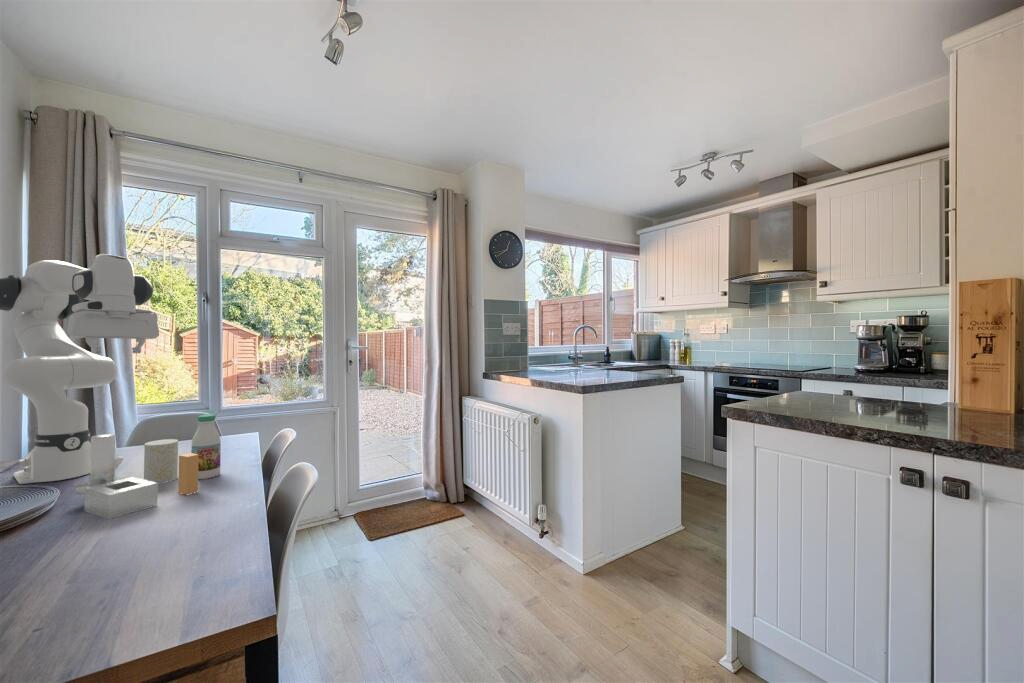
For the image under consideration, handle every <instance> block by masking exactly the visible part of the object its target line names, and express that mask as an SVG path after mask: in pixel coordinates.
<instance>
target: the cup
mask: <svg viewBox="0 0 1024 683" xmlns="http://www.w3.org/2000/svg"><path fill="white" fill-rule="evenodd" d="M143 448H144V453H143V454H144V455H143V456H144V457H143V458H144V460H143V467H144V468H143V479H144V480H148V481H152V482H156V483H160V484H164V483H163V482H165V483H167V482H166V481H170V480H173V479H175V480H176V478H177V479H178V477H179V439H175V438H167V439H158V440H151V441H148V442H147V441H146V442H145V443H144V447H143ZM173 481H174V480H173ZM170 482H171V481H170Z"/></svg>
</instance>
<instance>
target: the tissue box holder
mask: <svg viewBox="0 0 1024 683" xmlns="http://www.w3.org/2000/svg"><path fill="white" fill-rule="evenodd" d="M90 443H91V449H90V473H89V481H87V482H83V483H80V484H79V485H77V486H75V494H76V495H84V513H85V512H86V513H89V514H91V515H94V516H97V515H98V517H100V516H101V517H100V518H103V517H104V518H103V519H106V518H107V519H106V520H111V519H112V518H113V519H115V517H116V518H120V517H122V515H123V516H126V515H129V514H133V513H136V512H139V511H138V510H140V511H142V509H143V510H146V509H149V508H148V507H150V508H152V507H151V506H153V507H156V506H158V493H159V492H158V486H159V484H158V483H156V482H152V481H148V480H144V478H141V477H140V478H139V477H137V476H130V477H120V476H119V477H117V476H116V474H115V473H116V471H115V459H116V434H114V433H104V434H97V435H93V436H90ZM115 476H116V477H115ZM155 505H156V506H155ZM145 508H146V509H145ZM132 512H133V513H132ZM125 514H126V515H125ZM113 519H112V520H113Z"/></svg>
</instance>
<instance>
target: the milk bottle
mask: <svg viewBox="0 0 1024 683" xmlns="http://www.w3.org/2000/svg"><path fill="white" fill-rule="evenodd" d="M215 422H216V414H202V415H201V414H200V415H198V416H197V423H198V426H197V429H196V431H195V434H194V435H193V437H192V441H191V452H190V453H193V454H199V464H198V479H202V480H208V478H209V479H212V477H213V478H215V476H216V477H218V476H219V475H220V474H221V450H222V449H221V437H220V436H221V435H220V434H219V432H218V430H217V428H216V426H215V425H216V424H215Z"/></svg>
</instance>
